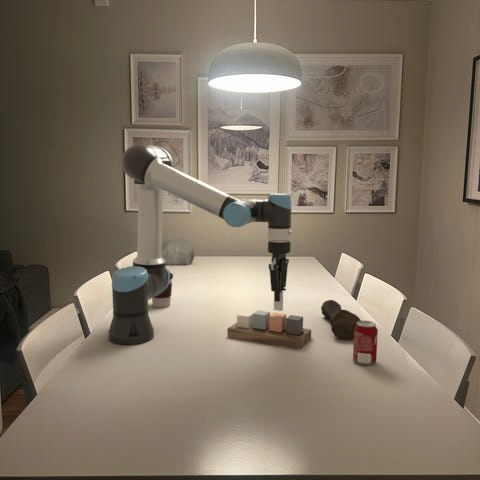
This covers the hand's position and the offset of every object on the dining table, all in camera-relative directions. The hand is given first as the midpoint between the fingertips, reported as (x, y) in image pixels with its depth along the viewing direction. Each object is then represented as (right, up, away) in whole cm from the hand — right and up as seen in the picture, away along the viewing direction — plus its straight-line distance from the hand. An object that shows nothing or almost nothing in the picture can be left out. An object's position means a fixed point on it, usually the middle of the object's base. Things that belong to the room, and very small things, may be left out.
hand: (278, 309), depth 165 cm
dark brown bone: (+22, -9, +13) cm, 27 cm away
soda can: (+24, -13, -18) cm, 33 cm away
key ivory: (-11, -7, +6) cm, 15 cm away
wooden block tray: (-3, -10, +3) cm, 11 cm away
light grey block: (-6, -6, +4) cm, 9 cm away
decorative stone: (-51, +9, +130) cm, 140 cm away
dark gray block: (+5, -7, -2) cm, 9 cm away
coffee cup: (-46, -4, +41) cm, 61 cm away
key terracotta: (0, -7, +1) cm, 7 cm away
